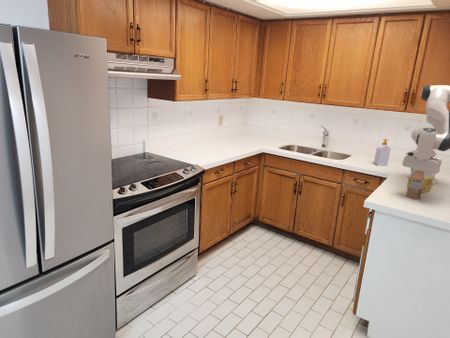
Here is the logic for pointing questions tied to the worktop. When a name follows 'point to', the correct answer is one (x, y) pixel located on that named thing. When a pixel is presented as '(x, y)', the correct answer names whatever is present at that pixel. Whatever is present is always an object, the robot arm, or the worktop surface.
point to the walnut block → (413, 193)
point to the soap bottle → (382, 154)
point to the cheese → (425, 185)
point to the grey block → (416, 184)
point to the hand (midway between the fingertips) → (418, 176)
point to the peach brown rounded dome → (418, 175)
